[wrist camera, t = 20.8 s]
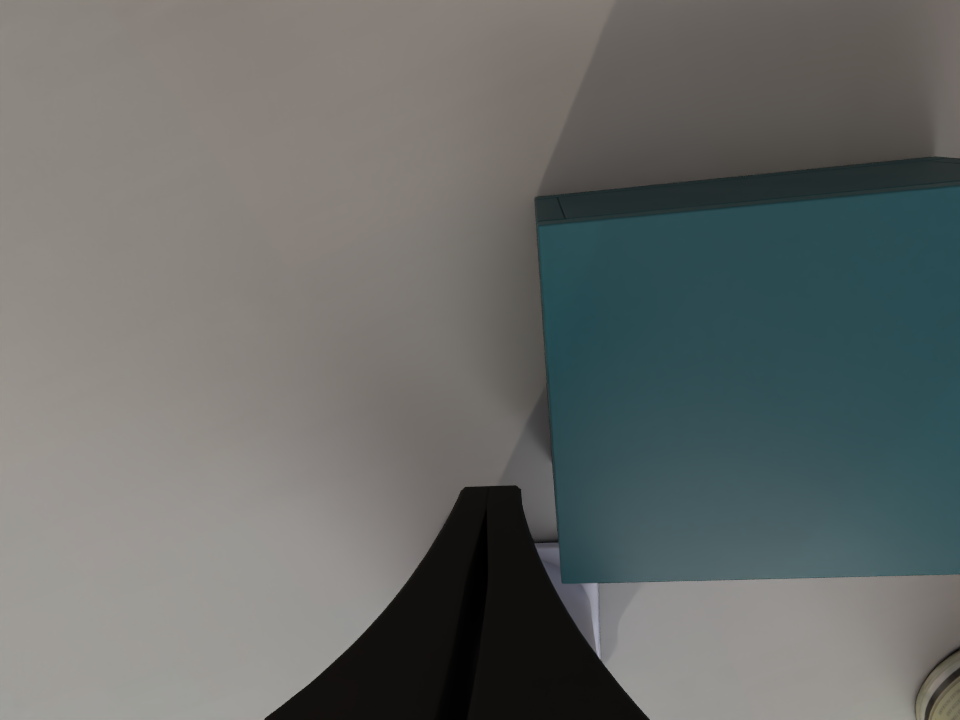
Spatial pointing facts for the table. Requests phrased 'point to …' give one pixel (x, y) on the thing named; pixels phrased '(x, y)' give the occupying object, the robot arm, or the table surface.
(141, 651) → the table surface
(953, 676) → the coffee can
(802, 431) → the cool box lid
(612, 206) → the cool box
